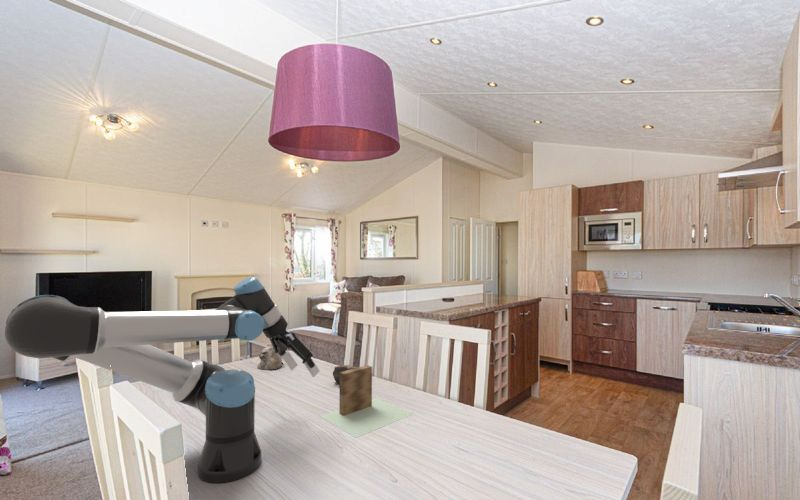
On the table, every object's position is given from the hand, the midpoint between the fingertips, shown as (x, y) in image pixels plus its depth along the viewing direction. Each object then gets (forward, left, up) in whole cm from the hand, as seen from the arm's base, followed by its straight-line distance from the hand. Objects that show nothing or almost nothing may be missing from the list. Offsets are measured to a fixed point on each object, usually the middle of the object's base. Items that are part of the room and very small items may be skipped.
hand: (305, 370), depth 129 cm
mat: (+16, -14, -16) cm, 26 cm away
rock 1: (+16, +63, -16) cm, 67 cm away
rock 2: (+31, +17, -16) cm, 39 cm away
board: (+16, -8, -15) cm, 23 cm away
